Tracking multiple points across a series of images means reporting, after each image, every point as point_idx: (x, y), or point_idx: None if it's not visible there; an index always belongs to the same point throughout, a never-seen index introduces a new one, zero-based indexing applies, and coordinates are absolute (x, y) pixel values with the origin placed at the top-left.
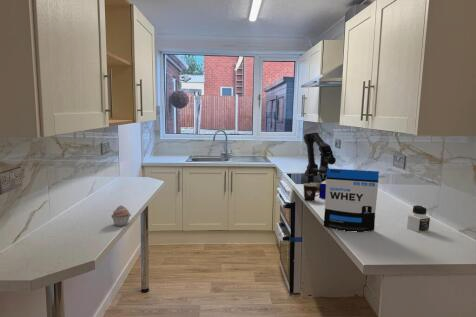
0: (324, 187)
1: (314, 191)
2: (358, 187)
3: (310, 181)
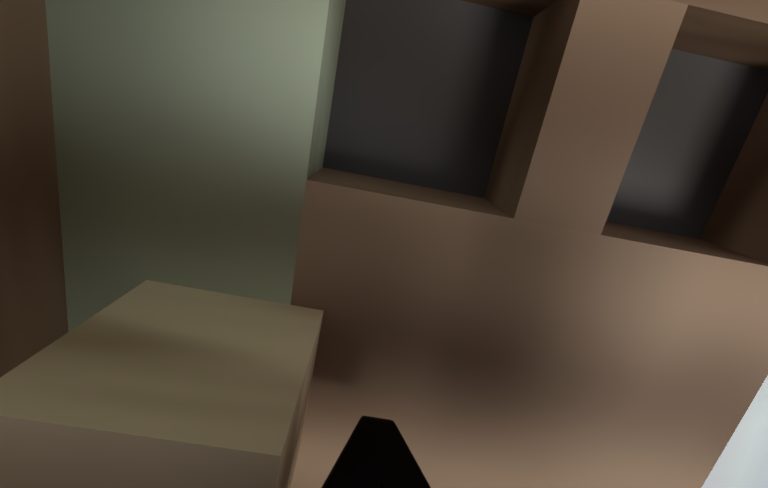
0: None
1: None
2: None
3: None
